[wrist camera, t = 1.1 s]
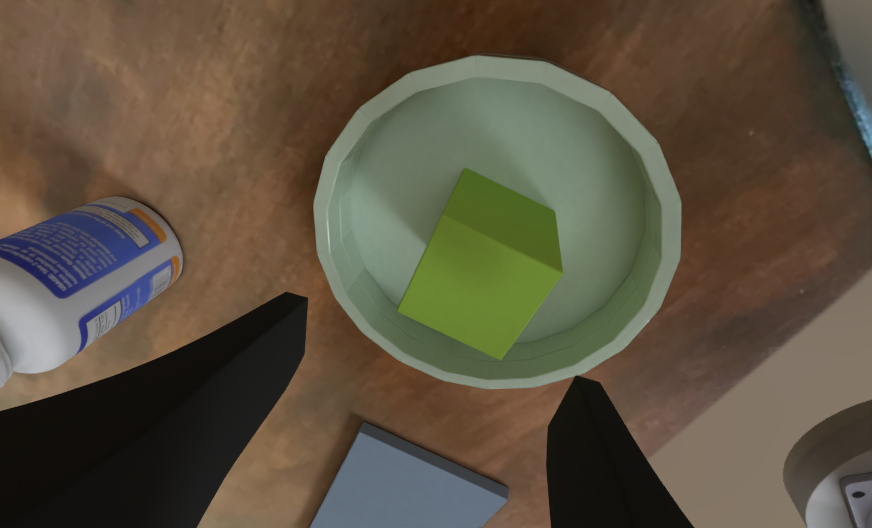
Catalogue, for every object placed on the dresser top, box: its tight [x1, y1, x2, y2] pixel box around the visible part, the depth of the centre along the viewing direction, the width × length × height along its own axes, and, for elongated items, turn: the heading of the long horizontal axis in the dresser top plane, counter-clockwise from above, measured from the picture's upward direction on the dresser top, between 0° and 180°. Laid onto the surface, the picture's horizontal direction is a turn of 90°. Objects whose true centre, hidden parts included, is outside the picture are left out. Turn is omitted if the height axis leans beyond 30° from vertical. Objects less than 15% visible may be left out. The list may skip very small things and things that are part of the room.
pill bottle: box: [0, 196, 183, 387], centre depth 18 cm, size 5×5×10 cm
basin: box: [313, 52, 682, 389], centre depth 17 cm, size 13×13×3 cm
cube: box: [397, 168, 563, 360], centre depth 15 cm, size 4×4×5 cm
